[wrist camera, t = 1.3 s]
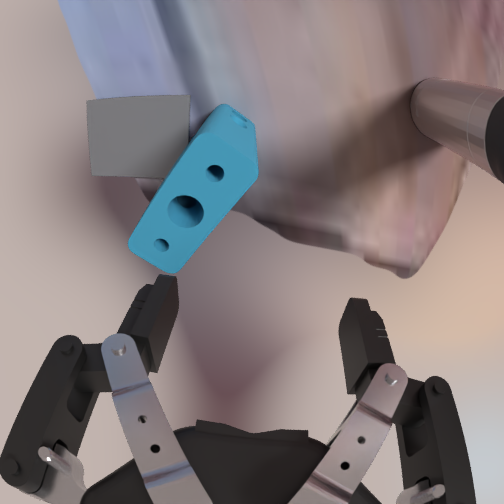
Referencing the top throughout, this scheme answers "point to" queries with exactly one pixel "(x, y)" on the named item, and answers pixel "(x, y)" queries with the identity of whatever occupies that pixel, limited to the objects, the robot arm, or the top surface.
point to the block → (198, 190)
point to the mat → (137, 134)
